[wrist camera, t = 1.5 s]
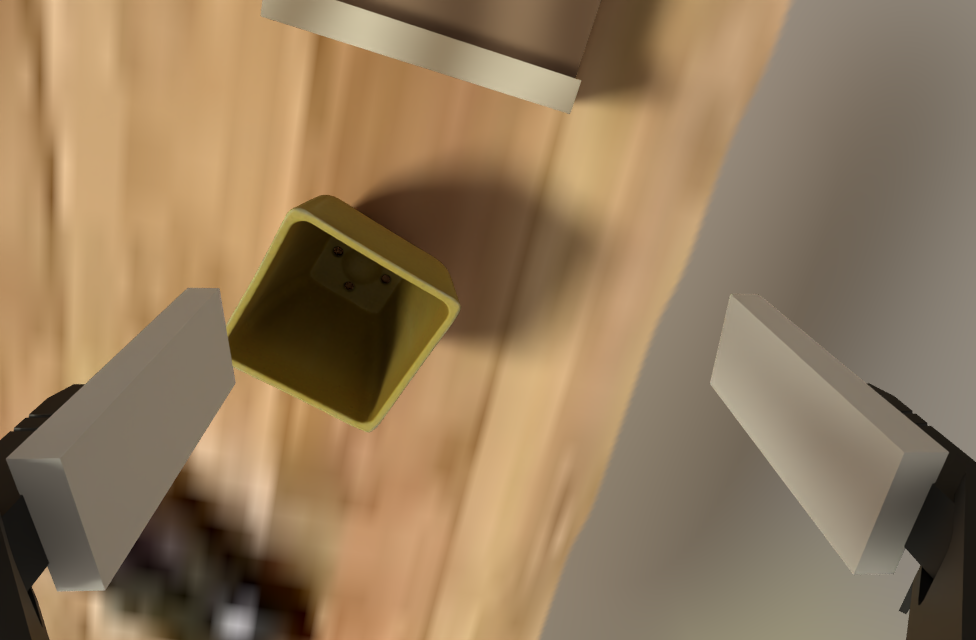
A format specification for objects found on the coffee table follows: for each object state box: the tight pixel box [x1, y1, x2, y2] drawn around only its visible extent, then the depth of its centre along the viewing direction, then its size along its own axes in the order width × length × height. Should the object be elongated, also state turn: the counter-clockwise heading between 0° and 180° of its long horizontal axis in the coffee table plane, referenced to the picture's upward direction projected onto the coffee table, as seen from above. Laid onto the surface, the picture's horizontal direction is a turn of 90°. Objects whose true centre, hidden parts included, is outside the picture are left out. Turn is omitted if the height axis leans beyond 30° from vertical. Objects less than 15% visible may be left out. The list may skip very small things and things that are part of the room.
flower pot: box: [226, 195, 461, 432], centre depth 32 cm, size 9×9×9 cm
